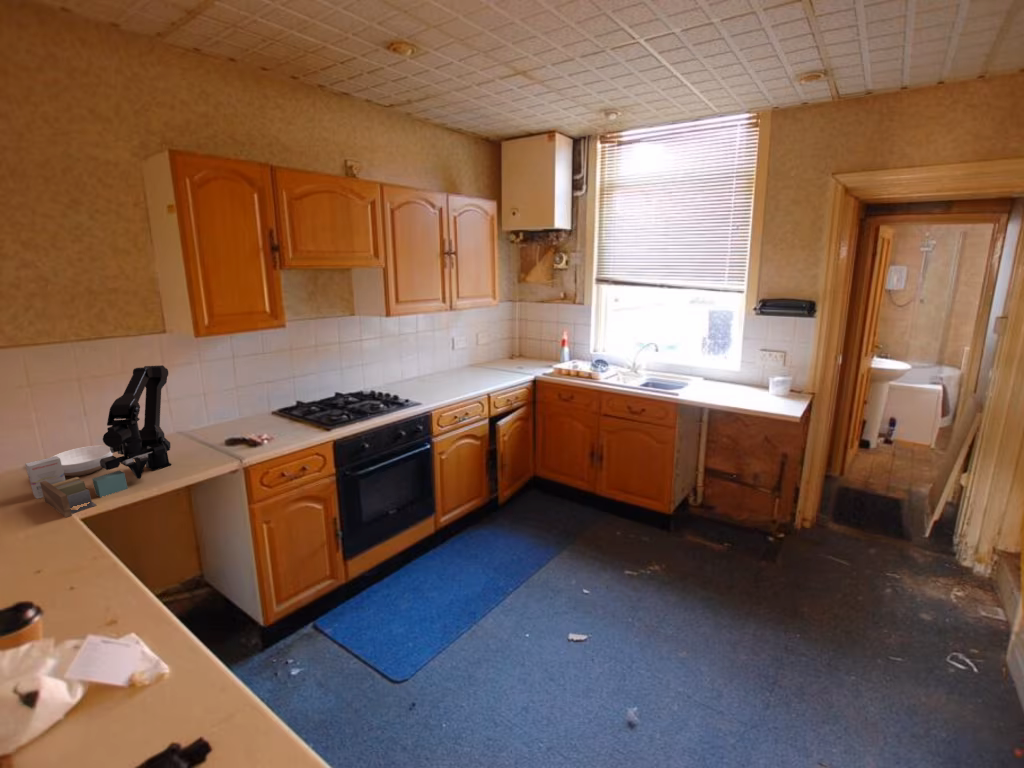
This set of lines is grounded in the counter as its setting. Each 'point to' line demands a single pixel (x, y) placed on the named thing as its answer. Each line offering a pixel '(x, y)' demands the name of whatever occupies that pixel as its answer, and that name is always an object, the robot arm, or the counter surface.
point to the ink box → (44, 473)
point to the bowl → (83, 460)
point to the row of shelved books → (70, 486)
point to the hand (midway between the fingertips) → (138, 478)
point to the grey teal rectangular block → (110, 483)
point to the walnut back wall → (56, 498)
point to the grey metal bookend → (80, 500)
